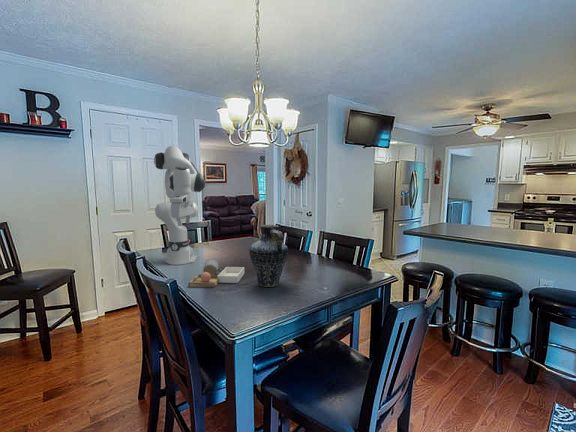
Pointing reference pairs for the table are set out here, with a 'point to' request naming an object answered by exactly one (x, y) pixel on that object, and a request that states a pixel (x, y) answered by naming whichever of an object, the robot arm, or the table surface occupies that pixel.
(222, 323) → the table surface
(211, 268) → the ceramic mug
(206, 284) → the tray
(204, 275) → the ball
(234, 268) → the white storage bin
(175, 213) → the robot arm
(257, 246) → the jug
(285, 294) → the table surface
